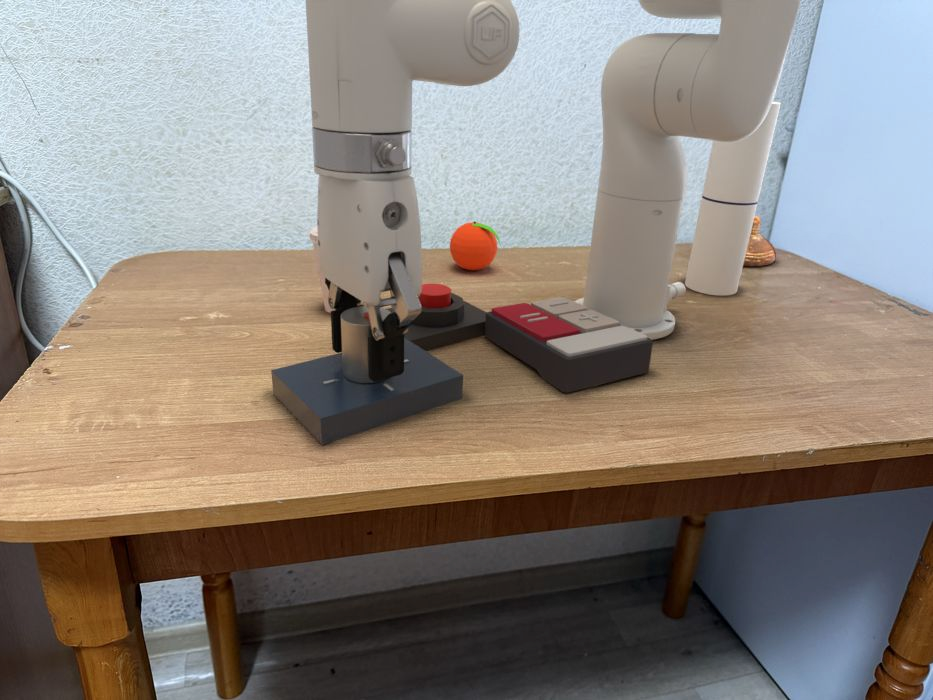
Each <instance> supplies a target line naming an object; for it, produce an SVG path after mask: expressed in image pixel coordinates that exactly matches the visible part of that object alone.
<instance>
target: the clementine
mask: <svg viewBox="0 0 933 700" xmlns="http://www.w3.org/2000/svg"><path fill="white" fill-rule="evenodd" d="M498 243H499V246H502V245H501V240H500V237H499V236H498V234H497V233H496V231H495V230H494V229H493V228H492V227H490V226H489V225H486V224H484V223H480V222H476V221H473V222H472V221H471V222H466V223H464V224H462V225H461V226H459V227H458V228H457V229H456V230H455V231H454V232H453V234H452V236H451V237H450V242H449V252H450V254H451V257H452V260H453V261H454V262H455V264H456V265H458V266H459V267H460V268H462V269H464V270H467V271H473V272H474V271H479V270H480V271H481V270H483V269H485V268H487V267H488V266H490V265H491V263H493V262H494V260H495V257H496V255H497V252H498Z"/></svg>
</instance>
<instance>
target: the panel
mask: <svg viewBox="0 0 933 700" xmlns="http://www.w3.org/2000/svg"><path fill="white" fill-rule="evenodd" d="M270 372H271V382H272V395H273V396H274V397H275V398H276V399H277V400H278V402H280V403H281V404H282V405H283V406H284V408H286V409H287V410H288V412H290V414H291V415H292V416H294V418H296V420H297V421H298V422H300V424H301V425H302V426H303V427H304V428H305V429H306V430H307V431H308V432H309V433H310V434H311V435H312V436H313V437H314V438H315V440H317V441H318V443H319V444H320V445H321V446H325V445H327V444H330V443H334V442H335V441H338V440H342V439H345V438H347V437H352V436H354V435H356V434H361V433H363V432H366V431H369V430H372V429H374V428H377V427H381V426H384V425H387V424H390V423H393V422H396V421H398V420H403V419H406V418H408V417H412V416H414V415H417V414H420V413H423V412H426V411H429V410H432V409H435V408H439V407H441V406H445V405H447V404H450V403H453V402H457V401H459V400H462V399H463V386H464V384H463V383H464V374H462V373H461V372H459V371H458V370H456V369H455V368H453V367H451V366H449V365H448V364H447V363H445V362H444V361H442V360H440V359H439V358H438V357H436V356H434V355H432V354H431V353H430V352H428V351H427V350H423V349H422V348H420V347H419V346H417V345H415V344H414V343H412V342H411V341H409V340H408V339H406V338H404V372H403V373H402V374H401V375H398V376H394V377H391V378H387V379H385V380H383V381H380V382H375V383H358V382H354V381H351V380H349V379H347V378H346V377H345V376H344V375H343V362H342V352H340V353H333V354H330V355H326V356H322V357H318V358H315V359H310V360H306V361H302V362H298V363H293V364H290V365H286V366H282V367H278V368H275V369H271V370H270Z"/></svg>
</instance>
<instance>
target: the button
mask: <svg viewBox="0 0 933 700" xmlns="http://www.w3.org/2000/svg"><path fill="white" fill-rule="evenodd" d="M451 293H452V288H451V287H449V286H448V285H445V284H443V283H422V290H421V294H420V296H419V297H418V299H419V301H420V304H421V307H426V308H443V307H448V306H450V305H451Z"/></svg>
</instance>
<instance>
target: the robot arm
mask: <svg viewBox="0 0 933 700" xmlns="http://www.w3.org/2000/svg"><path fill="white" fill-rule="evenodd" d="M637 1H638V3H639V5H640V7H641V8H642V9H643V11H645V12H646V13H648V14H649V15H652V16H654V17H658V18H663V19H675V20H677V19H678V20H720V25H719V32H718V33H696V32H695V33H694V32H654V33H646V34H641V35H637V36H634V37H632V38H630V39H628V40H626V41H624V42H623V43H621V44H620V45H619V46H618V47H616V48H615V50H614V51H613V52H612V53H611V55H610V56H609V58H608V60H607V62H606V64H605V67H604V69H603V72H602V76H601V84H600V85H601V86H600V87H601V88H600V100H601V116H602V118H601V119H602V148H601V149H602V150H601V161H600V169H599V170H600V171H599V178H598V187H597V193H596V200H595V207H594V208H595V209H594V215H593V222H592V231H591V238H590V239H591V240H590V245H589V246H590V247H589V254H588V263H587V270H586V276H585V277H586V279H585V285H584V294H583V297H581V298H578V299H576V300H575V301H574V302H576V303H578V304H581V305H583V306H585V307H587V310H594V311H596V312H599V313H601V314H603V315H605V316H608V317H610V318H612V319H614V320H617V321H619V325H621V326H626V327H628V328H631V329H633V330H635V331H637V332H640V333H642V334H644V335H646V336H647V337H648V338H650V339H652V340H653V341H654V340H659V339H663V338H665V337H668V336H669V335H670V334H672V333H673V332H674V329H675V325H676V318H675V316H674V315H673V314H672V312H670V311H669V310H668V309H667V307H668V303H670V302H671V301H672V300H674V299H678V298H681V297H684V296H685V294H686V291H687V288H686V285H685V283H683V282H681V281H676V282H672V283H670V278H671V271H672V266H673V262H674V255H675V250H676V245H677V240H678V235H679V229H680V224H681V219H682V213H683V207H684V202H685V197H686V193H687V188H688V178H689V177H688V176H689V172H688V170H689V169H688V164H687V158H686V155H685V150H684V149H683V145H682V142H681V139H680V137H683V138H688V139H689V138H690V139H696V140H704V141H712V142H713V141H719V142H734V141H739V140H742V139H745V138H746V137H748V136H750V135H751V134H753V133H754V132H755V131H756V130H757V129H758V128H759V126H760V125H761V124H762V122H763V121H764V119H765V117H766V116H767V114H768V112H769V109H770V107H771V104H772V102H774V99H775V96H776V92H777V89H778V86H779V82H780V79H781V77H782V76H781V75H782V72H783V68H784V64H785V60H786V57H787V54H788V50H789V49H788V48H789V47H790V42H791V38H792V35H793V31H794V27H795V23H796V20H797V16H798V13H799V9H800V5H801V2H802V0H637ZM305 17H306V32H307V35H306V36H307V51H308V52H307V53H308V55H307V56H308V69H309V70H308V71H309V89H310V108H311V110H310V111H311V125H312V127H311V132H312V133H311V135H312V151H313V152H312V154H313V155H312V156H313V173H315V174H316V175H318V184H317V207H316V208H317V210H316V211H317V213H316V214H317V215H316V216H317V217H316V218H317V219H316V222H317V223H316V224H317V226H316V227H317V230H318V252H319V262H320V268H321V272H322V273H323V275H324V276H325V284H326V285H327V287H328V290H329V296H328V304H329V307H330V308H331V309H335V310H334V311H331V313H330V323H331V324H330V327H331V348H332V350H333V351H334V352H335V354H338V353H342V337H341V314H342V313H343V312H344V311H345V310H348V309H350V308H354V307H361V306H365V305H364V304H361V303H365V304H366V306H367V309H368V314H369V319H370V324H371V329H372V334H373V336H370V337H368V374H369V379H371V380H372V381H373V382H376V381H380V380H383V379H387V378H391V377H394V376H398V375H401V374H402V373H403V372H404V334H407V333H408V327H409V326H410V325H411V324H412V321H413V320H414V319H415V318H416V317H417V316H418V315H419V314H420V313H421V310H422V307H421V304H420V301H419V299H418V297H419V296H420V294H421V290H422V285H423V254H422V253H423V252H422V250H423V249H422V232H421V218H420V217H421V216H420V210H419V202H418V201H419V200H418V195H417V188H416V184H415V178H414V177H413V176H411V175H412V155H413V153H412V150H413V149H412V148H413V147H412V145H413V140H412V138H413V136H412V135H413V130H412V129H413V128H412V127H413V81H417V82H427V83H434V84H438V85H445V86H446V85H447V86H455V87H456V86H457V87H472V86H473V87H474V86H478V85H482V84H485V83H487V82H489V81H492V80H493V79H496V78H497V77H499V76H500V74H502V73H503V72H504V71H505V70H506V69H507V68H508V66H509V65H510V64H511V63H512V60H513V59H514V57H515V55H516V52H517V50H518V46H519V41H520V21H519V17H518V13H517V10H516V8H515V6H514V5H513V3H512V1H511V0H305ZM385 292H390V297H385V298H381V293H385ZM389 306H391V307H390V308H392V312H393V313H390V314H388V316H387V317H386V318H385V319H384V320H383V321H382V315H381V310H380V308H384V307H389Z"/></svg>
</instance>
